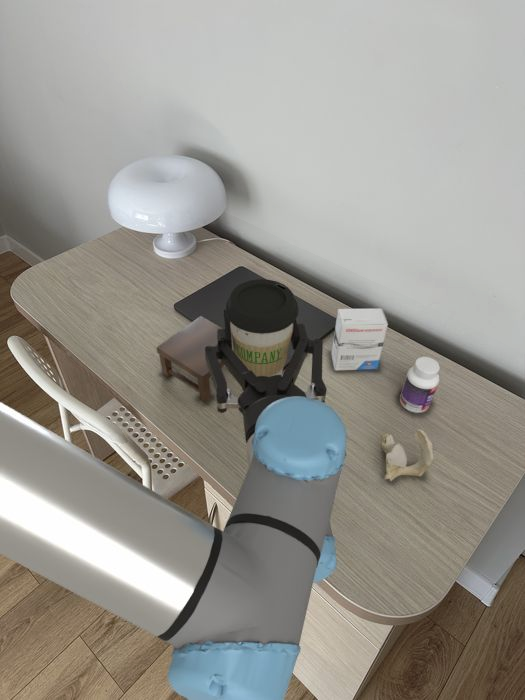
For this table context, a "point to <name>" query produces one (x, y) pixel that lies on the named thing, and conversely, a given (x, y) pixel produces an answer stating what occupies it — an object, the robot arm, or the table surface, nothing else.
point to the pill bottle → (420, 385)
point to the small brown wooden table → (191, 354)
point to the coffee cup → (262, 324)
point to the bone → (398, 458)
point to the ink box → (358, 338)
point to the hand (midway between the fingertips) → (258, 315)
